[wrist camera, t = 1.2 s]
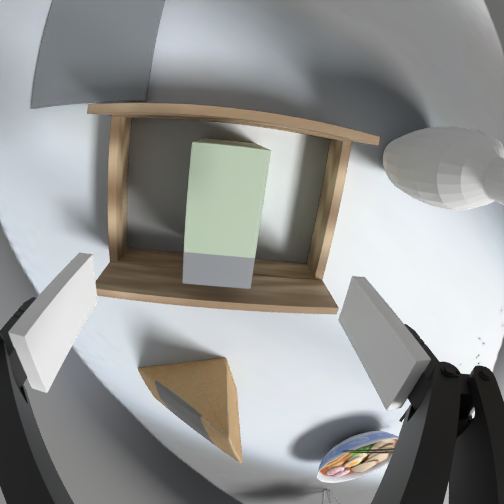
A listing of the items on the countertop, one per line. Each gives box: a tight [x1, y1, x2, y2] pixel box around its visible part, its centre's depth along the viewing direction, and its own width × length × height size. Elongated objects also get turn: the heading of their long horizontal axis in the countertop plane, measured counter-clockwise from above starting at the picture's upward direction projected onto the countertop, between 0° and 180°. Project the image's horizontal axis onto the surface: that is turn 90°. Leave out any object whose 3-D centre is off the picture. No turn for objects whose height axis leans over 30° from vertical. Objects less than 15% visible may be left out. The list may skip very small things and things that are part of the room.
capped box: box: [183, 138, 271, 289], centre depth 29 cm, size 12×6×11 cm, turn 172°
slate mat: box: [31, 0, 165, 109], centre depth 24 cm, size 16×16×1 cm
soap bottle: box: [383, 127, 504, 211], centre depth 21 cm, size 14×9×26 cm, turn 107°
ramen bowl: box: [316, 431, 398, 483], centre depth 56 cm, size 25×23×8 cm
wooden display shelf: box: [87, 103, 380, 314], centre depth 29 cm, size 18×25×10 cm
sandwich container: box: [138, 358, 242, 463], centre depth 39 cm, size 9×15×15 cm, turn 100°
